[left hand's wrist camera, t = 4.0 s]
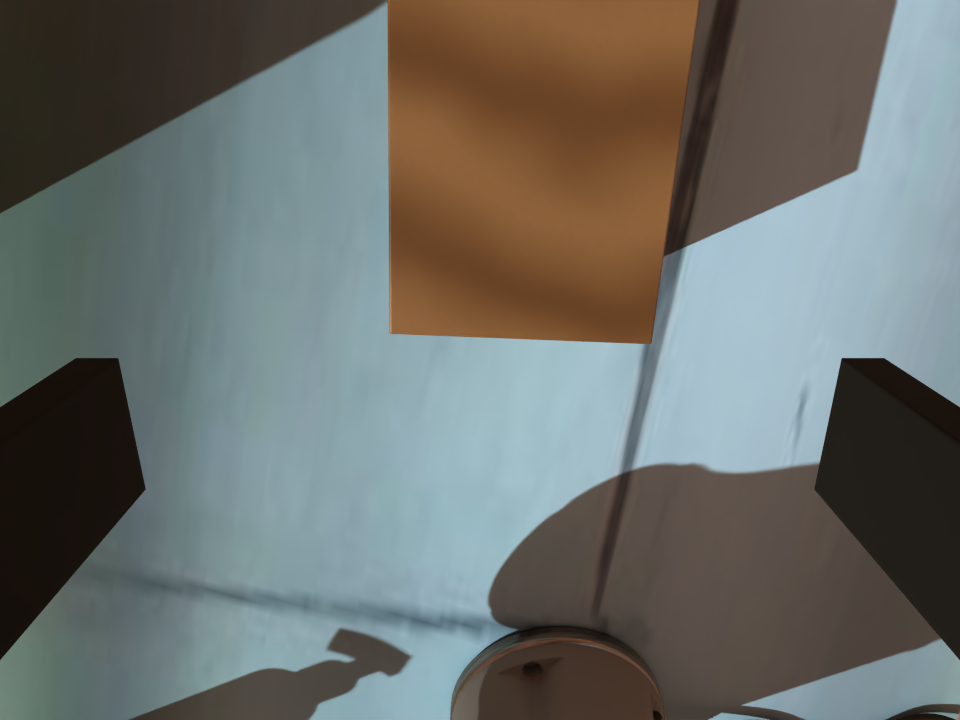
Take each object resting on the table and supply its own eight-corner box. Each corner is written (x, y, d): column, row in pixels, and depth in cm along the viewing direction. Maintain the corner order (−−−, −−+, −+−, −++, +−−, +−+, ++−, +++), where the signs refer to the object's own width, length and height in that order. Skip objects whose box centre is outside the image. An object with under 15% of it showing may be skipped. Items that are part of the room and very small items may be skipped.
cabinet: (415, -153, 31) (385, -270, 21) (655, -141, 31) (736, -251, 21) (412, 274, 38) (389, 334, 28) (607, 282, 38) (651, 345, 28)
